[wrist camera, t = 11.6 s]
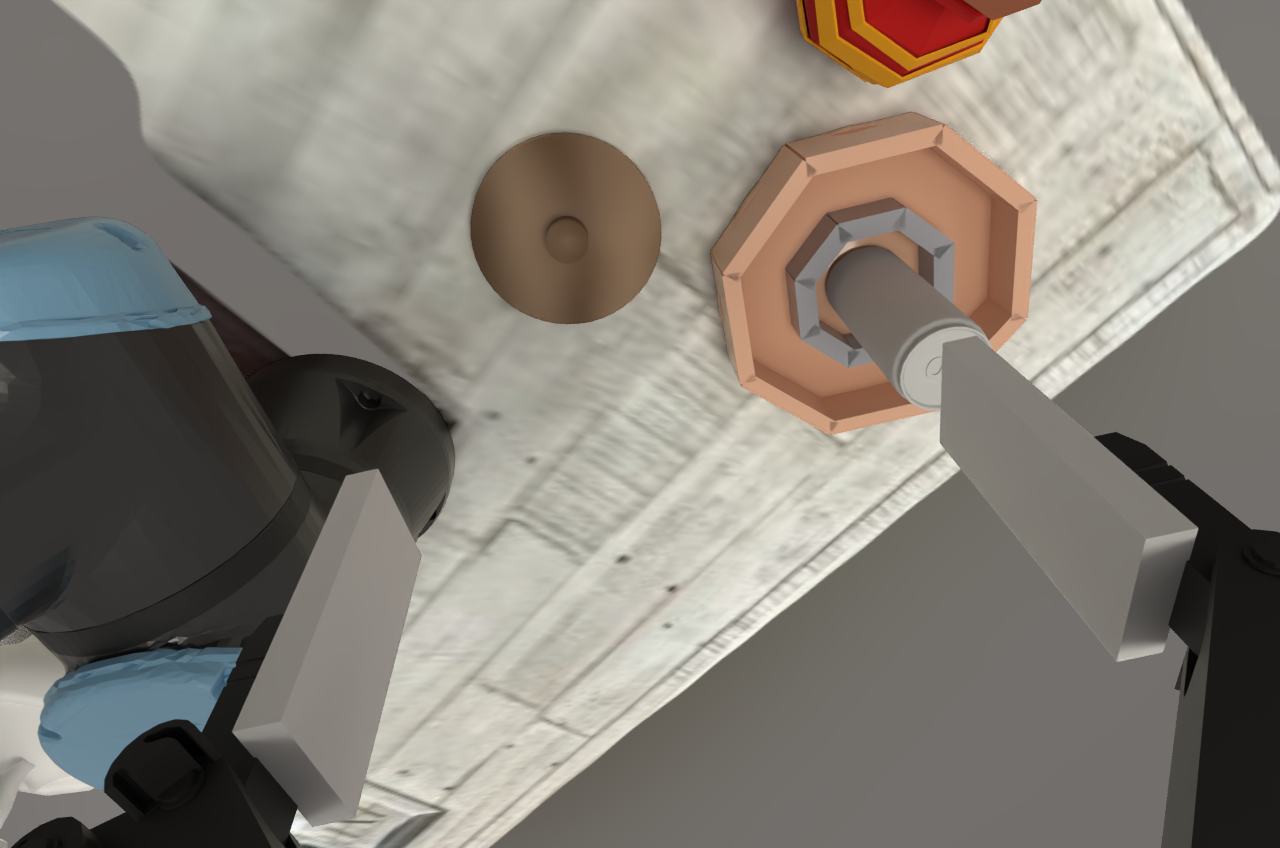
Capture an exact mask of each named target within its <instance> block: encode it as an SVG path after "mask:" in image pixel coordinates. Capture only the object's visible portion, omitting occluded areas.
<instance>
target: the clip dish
mask: <svg viewBox="0 0 1280 848" xmlns="http://www.w3.org/2000/svg"><path fill="white" fill-rule="evenodd" d="M786 146H787V147H786ZM786 146H785V145H783V147H782V148H781V150H780V151H779V153H778V154H777V155H776V157H775V158H774V160H773V161H772V163H771V164H770V166H769V167H768V169H767V170H766V171H765V173H764V174H763V176H762V177H761V179H760V180H759V181H758V182H757V184H756V185H755V186H754V188H753V189H752V190H751V191H750V193H749V194H748V195H747V197H746V198H745V199H744V201H743V203H742V204H741V206H740V208H739V209H738V211H737V213H736V214H735V216H734V218H733V220H732V221H731V222H730V224H729V225H728V227H727V228H726V230H725V231H724V233H723V234H722V236H721V237H720V238H719V240H718V241H717V243H716V244H715V246H714V247H713V249H712V250H711V252H712V253H710V254H711V260H712V265H713V271H714V277H715V283H716V291H717V301H718V308H719V312H720V316H721V320H722V324H723V329H724V335H725V340H726V346H727V352H728V357H729V359H730V361H731V364H732V366H733V369H734V371H735V373H736V376H737V378H738V381H739V383H740V384H741V386H742V387H743V388H745V389H747V390H749V391H751V392H753V393H754V394H756V395H758V396H760V397H762V398H763V399H765V400H767V401H769V402H771V403H772V404H774V405H776V406H778V407H780V408H782V409H783V410H785V411H787V412H789V413H791V414H792V415H794V416H796V417H798V418H800V419H801V420H803V421H805V422H807V423H809V424H810V425H812V426H814V427H816V428H818V429H820V430H821V431H823V432H825V433H827V434H831V435H833V434H837V433H841V432H846V431H850V430H854V429H859V428H863V427H868V426H872V425H876V424H881V423H885V422H890V421H894V420H898V419H903V418H907V417H911V416H916V415H920V414H925V413H929V412H933V411H938V410H926V409H922V408H918V407H917V406H915V405H913V404H912V403H910V402H909V401H908V400H906V399H905V398H903V397H902V396H901V395H900V394H899V393H898V392H897V390H896V389H895V388H894V387H893V385H892V384H891V383H890V382H889V380H888V379H887V378H886V376H885V375H884V374H883V373H882V371H881V370H880V369H879V368H878V366H877V365H876V364H875V362H874V361H873V360H872V359H871V357H870V356H869V355H868V354H867V352H866V351H865V350H864V348H863V347H862V346H861V345H860V343H859V342H858V341H857V339H856V338H855V337H854V335H853V334H852V333H851V331H850V330H849V329H848V327H847V326H846V324H845V323H844V322H843V320H842V319H841V318H840V316H839V315H838V314H837V312H836V311H835V310H834V309H833V307H832V306H831V304H830V302H829V300H828V298H827V290H826V286H827V281H828V277H829V275H830V273H831V271H832V269H833V267H834V266H835V265H836V264H837V262H838V261H839V260H840V259H842V258H843V257H844V256H846V255H847V254H849V253H851V252H853V251H855V250H858V249H862V248H865V247H875V246H879V247H882V248H886V249H888V250H890V251H891V252H893V253H894V254H895V255H897V256H898V257H899V258H900V259H901V260H902V261H904V262H905V263H906V264H907V265H908V266H909V267H911V268H912V269H913V270H914V271H915V272H916V273H918V274H919V275H920V276H921V277H922V278H923V279H925V280H926V281H927V282H928V283H929V284H930V285H932V286H933V287H934V288H935V289H936V290H937V291H939V292H940V293H941V294H942V295H943V296H944V297H946V298H947V299H948V300H949V301H950V302H951V303H953V304H954V305H955V306H956V307H957V308H959V309H960V310H961V311H962V312H963V313H964V314H966V315H967V316H968V317H969V318H970V319H971V320H973V321H974V322H975V323H976V324H977V325H978V326H979V327H980V328H981V329H982V331H983V332H984V333H985V335H986V336H987V339H988V340H989V342H990V343H991V345H992V349H993V350H994V351H995V352H997V351H998V350H999V349H1000V348H1001V346H1002V345H1003V344H1004V343H1005V342H1006V341H1007V340H1008V339H1009V338H1010V337H1011V336H1012V335H1013V334H1014V333H1015V332H1016V331H1017V330H1018V329H1019V327H1020V326H1021V325H1022V324H1023V323H1024V322H1025V321H1026V319H1025V318H1028V309H1029V296H1030V284H1031V271H1032V258H1033V246H1034V233H1035V221H1036V208H1037V200H1035V199H1036V198H1035V197H1034V196H1033V195H1032V194H1031V193H1029V192H1028V191H1027V190H1026V189H1024V188H1023V187H1022V186H1021V185H1019V184H1018V183H1017V182H1016V181H1014V180H1013V179H1012V178H1011V177H1010V176H1008V175H1007V174H1006V173H1005V172H1003V171H1002V170H1001V169H1000V168H998V167H997V166H996V165H995V164H993V163H992V162H991V161H990V160H989V159H987V158H986V157H985V156H984V155H982V154H981V153H980V152H979V151H977V150H976V149H975V148H974V147H973V146H971V145H970V144H969V143H968V142H966V141H965V140H964V139H963V138H961V137H960V136H959V135H958V134H956V133H955V132H954V131H953V130H952V129H950V128H949V127H948V126H947V125H945V124H943V123H940V122H937V121H935V120H932V119H930V118H927V117H925V116H922V115H919V114H917V113H913V112H909V113H905V114H901V115H897V116H893V117H889V118H885V119H881V120H877V121H873V122H867V123H861V124H856V125H850V126H846V127H843V128H840V129H837V130H834V131H831V132H828V133H825V134H821V135H817V136H813V137H809V138H805V139H801V140H797V141H793V142H789V143H786Z"/></svg>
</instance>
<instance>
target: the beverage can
mask: <svg viewBox="0 0 1280 848" xmlns="http://www.w3.org/2000/svg"><path fill="white" fill-rule="evenodd" d="M826 290H827V298H828V300H829V302H830V304H831V306H832V307H833V309H834V310H835V311H836V312H837V314H838V315H839V316H840V318H841V319H842V320H843V322H844V323H845V324H846V326H847V327H848V329H849V330H850V331H851V333H852V334H853V335H854V337H855V338H856V339H857V341H858V342H859V343H860V345H861V346H862V347H863V348H864V350H865V351H866V352H867V354H868V355H869V356H870V357H871V359H872V360H873V361H874V362H875V364H876V365H877V366H878V368H879V369H880V370H881V371H882V373H883V374H884V375H885V376H886V378H887V379H888V380H889V382H890V383H891V384H892V385H893V387H894V388H895V389H896V390H897V392H898V393H899V394H900V395H901V396H902V397H903V398H905V399H906V400H908V401H909V402H910V403H912V404H913V405H915V406H917V407H918V408H922V409H926V410H941V381H942V344H943V343H945V342H950V341H954V340H959V339H963V338H968V337H972V336H978V337H979V338H980V339H981V340H982V341H983V342H984V343H986V344H987V345H988V346H989V347H990V348H991V349H992V345H991V343H990V342H989V340H988V339H987V336H986V335H985V333H984V332H983V331H982V329H981V328H980V327H979V326H978V325H977V324H976V323H975V322H974V321H973V320H971V319H970V318H969V317H968V316H967V315H966V314H964V313H963V312H962V311H961V310H960V309H959V308H957V307H956V306H955V305H954V304H953V303H951V302H950V301H949V300H948V299H947V298H946V297H944V296H943V295H942V294H941V293H940V292H939V291H937V290H936V289H935V288H934V287H933V286H932V285H930V284H929V283H928V282H927V281H926V280H925V279H923V278H922V277H921V276H920V275H919V274H918V273H916V272H915V271H914V270H913V269H912V268H911V267H909V266H908V265H907V264H906V263H905V262H904V261H902V260H901V259H900V258H899V257H898V256H897V255H895V254H894V253H893V252H891V251H890V250H888V249H886V248H882V247H879V246H875V247H865V248H862V249H858V250H855V251H853V252H851V253H849V254H847V255H846V256H844V257H843V258H842V259H840V260H839V261H838V262H837V264H836V265H835V266H834V267H833V269H832V271H831V273H830V275H829V277H828V281H827V286H826Z"/></svg>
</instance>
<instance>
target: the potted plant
mask: <svg viewBox="0 0 1280 848" xmlns="http://www.w3.org/2000/svg"><path fill="white" fill-rule="evenodd" d="M64 676H65V668H64V666H63V665H62V663H61V662H60V661H59V660H58V659H57V658H56V657H55V656H54V655H53V654H52V653H51V652H50V651H49V650H48V649H47V648H46V647H45V646H44V645H43V644H42V643H41V642H40V641H39V640H38V639H37V638H36V637H35V636H34V635H32V636H30V637H29V638H27V639H25V640H24V641H22V642H21V643H15V644H7V645H0V829H1V827H2V825H3V823H4V821H5V819H6V818H7V816H8V814H9V812H10V811H11V808H12V806H13V803H14V800H15V797H16V794H17V791H22V792H28V793H35V794H42V795H47V796H48V795H56V794H64V793H72V792H80V791H88V790H92V789H93V788H94V787H92V786H89V785H87V784H85V783H83V782H81V781H79V780H77V779H76V778H74V777H72V776H71V775H69V774H68V773H66V772H65V771H63V770H62V769H61V768H59V767H58V766H57V765H56V764H55V763H54V762H53V761H52V760H51V759H50V758H49V756H48V755H47V754H46V753H45V751H44V750H43V748H42V747H41V744H40V741H39V738H38V734H37V733H38V727H39V725H40V723H41V721H40V714H41V711H42V709H43V707H44V702H43V699H44V696H45V694H46V693H47V691H48V690H49V689H50V687H51V686H52V685H53V684H54V682H55V681H56V680H58V679H60V678H63V677H64ZM0 848H7V842H6V841H4V840H2V839H0Z"/></svg>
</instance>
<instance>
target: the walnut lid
mask: <svg viewBox="0 0 1280 848" xmlns="http://www.w3.org/2000/svg"><path fill="white" fill-rule="evenodd" d="M471 240H472V246H473V250H474V254H475V257H476V260H477V262H478V265H479V267H480V269H481V271H482V273H483V275H484V276H485V278H486V280H487V281H488V283H489V284H490V285H491V287H492V288H493V289H494V290H495V291H496V292H497V293H498V294H499V295H500V296H501V297H502V298H503V299H504V300H505V301H506V302H507V303H509V304H510V305H511V306H513V307H514V308H516V309H518V310H519V311H521V312H522V313H525V314H527V315H529V316H531V317H533V318H536V319H540V320H543V321H547V322H552V323H559V324H580V323H586V322H591V321H594V320H598V319H601V318H604V317H606V316H608V315H610V314H613V313H614V312H616V311H617V310H619V309H621V308H622V307H624V306H625V305H626V304H628V303H629V302H630V301H631V300H632V299H633V298H634V297H635V296H636V295H637V294H638V293H639V292H640V291H641V289H642V288H643V287H644V286H645V284H646V283H647V281H648V279H649V278H650V276H651V274H652V272H653V270H654V267H655V265H656V262H657V259H658V255H659V251H660V244H661V221H660V214H659V210H658V207H657V203H656V200H655V198H654V195H653V193H652V190H651V188H650V186H649V184H648V182H647V181H646V179H645V177H644V176H643V174H642V173H641V172H640V170H639V169H638V168H637V166H636V165H635V164H634V163H633V162H632V161H631V160H630V159H629V158H628V157H627V156H626V155H624V154H623V153H622V152H620V151H619V150H618V149H616V148H615V147H613V146H611V145H609V144H607V143H606V142H604V141H601V140H599V139H596V138H593V137H590V136H586V135H582V134H575V133H551V134H545V135H540V136H537V137H534V138H531V139H528V140H526V141H524V142H522V143H520V144H518V145H516V146H515V147H513V148H512V149H510V150H509V151H507V152H506V153H505V154H504V155H503V156H502V157H500V158H499V159H498V160H497V161H496V163H495V164H494V165H493V166H492V167H491V169H490V170H489V171H488V173H487V175H486V176H485V178H484V180H483V181H482V183H481V186H480V188H479V190H478V193H477V195H476V197H475V201H474V205H473V209H472V215H471Z"/></svg>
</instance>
